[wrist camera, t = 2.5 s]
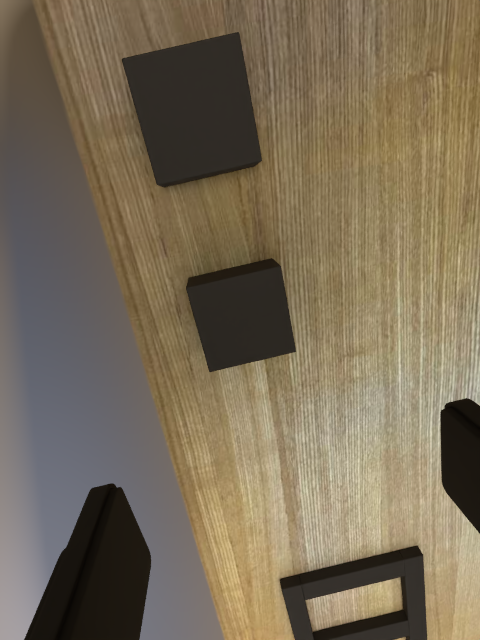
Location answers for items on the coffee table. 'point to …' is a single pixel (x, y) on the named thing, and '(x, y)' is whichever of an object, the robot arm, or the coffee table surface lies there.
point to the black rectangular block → (194, 109)
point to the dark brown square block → (241, 314)
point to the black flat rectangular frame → (371, 634)
